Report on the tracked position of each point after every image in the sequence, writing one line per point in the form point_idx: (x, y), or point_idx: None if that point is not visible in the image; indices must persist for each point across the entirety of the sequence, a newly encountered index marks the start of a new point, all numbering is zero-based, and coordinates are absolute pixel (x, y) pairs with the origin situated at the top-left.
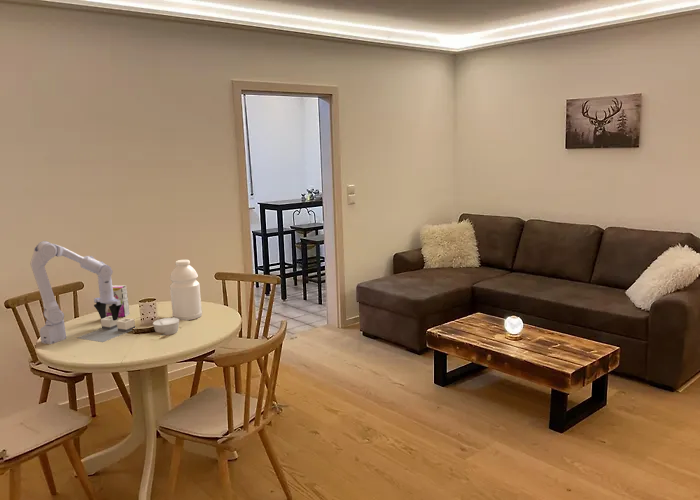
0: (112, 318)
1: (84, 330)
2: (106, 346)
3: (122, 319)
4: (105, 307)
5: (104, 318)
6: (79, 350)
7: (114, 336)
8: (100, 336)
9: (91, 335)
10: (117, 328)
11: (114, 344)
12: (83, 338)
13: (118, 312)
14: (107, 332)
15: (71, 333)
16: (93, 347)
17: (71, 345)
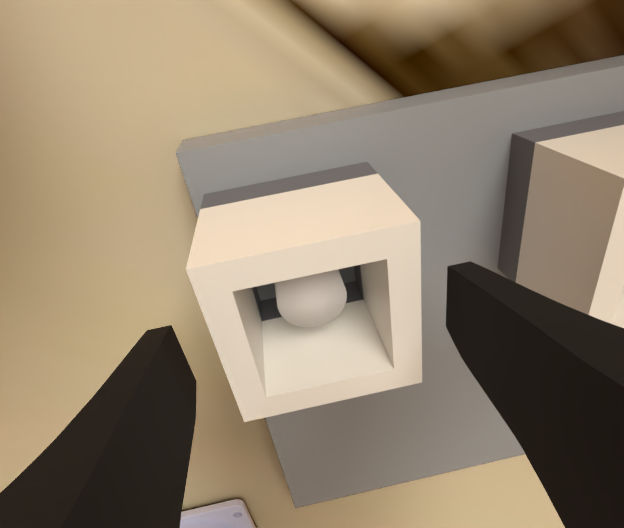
0: (395, 318)
1: (22, 373)
2: None
3: (615, 259)
4: (81, 496)
5: (262, 381)
6: (466, 507)
7: None
8: (452, 413)
9: (355, 441)
10: (422, 224)
11: None
12: (360, 487)
13: (587, 324)
14: (425, 344)
15: (32, 457)
16: (511, 459)
17: (341, 512)
